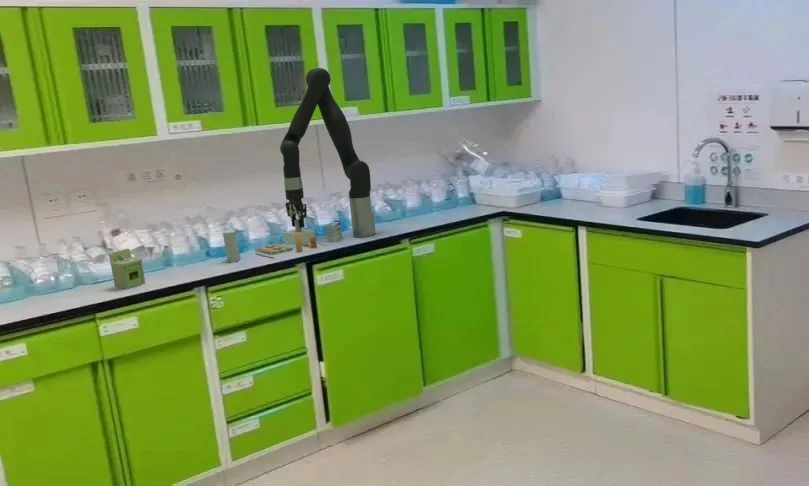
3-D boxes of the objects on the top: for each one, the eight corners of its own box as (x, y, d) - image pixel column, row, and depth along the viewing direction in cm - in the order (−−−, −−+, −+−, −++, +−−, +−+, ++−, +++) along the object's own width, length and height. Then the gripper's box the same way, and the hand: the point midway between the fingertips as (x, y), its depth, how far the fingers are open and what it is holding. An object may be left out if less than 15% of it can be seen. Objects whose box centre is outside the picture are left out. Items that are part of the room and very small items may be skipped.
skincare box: (237, 261, 304) (233, 232, 301) (226, 262, 304) (222, 233, 301) (240, 258, 310) (236, 229, 307) (229, 259, 310) (225, 230, 307)
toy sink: (126, 289, 273) (120, 254, 270) (114, 288, 277) (108, 253, 275) (146, 283, 280) (141, 248, 277) (134, 282, 284) (128, 247, 281)
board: (313, 245, 322) (311, 233, 321) (328, 249, 313) (326, 235, 312) (292, 250, 316) (291, 237, 315) (307, 253, 307) (306, 240, 306)
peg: (301, 254, 308) (298, 232, 306) (304, 254, 306) (301, 233, 304) (295, 255, 306) (293, 233, 304) (298, 256, 304) (296, 234, 303)
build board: (276, 249, 321) (276, 243, 320) (293, 253, 310) (293, 247, 309) (255, 254, 315) (254, 248, 314) (272, 258, 304) (271, 252, 303)
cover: (302, 241, 333) (299, 217, 331) (316, 244, 325) (313, 219, 323) (284, 245, 328) (281, 220, 326) (297, 248, 320) (294, 222, 317)
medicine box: (337, 245, 319) (335, 225, 317) (327, 245, 320) (325, 225, 318) (342, 241, 327) (340, 221, 325) (332, 241, 327) (330, 222, 326)
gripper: (310, 187, 318) (314, 227, 322) (292, 185, 329) (297, 224, 333) (294, 190, 314) (299, 230, 317) (277, 188, 325) (282, 227, 328)
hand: (298, 226), depth 325 cm, fingers open, 5 cm apart
